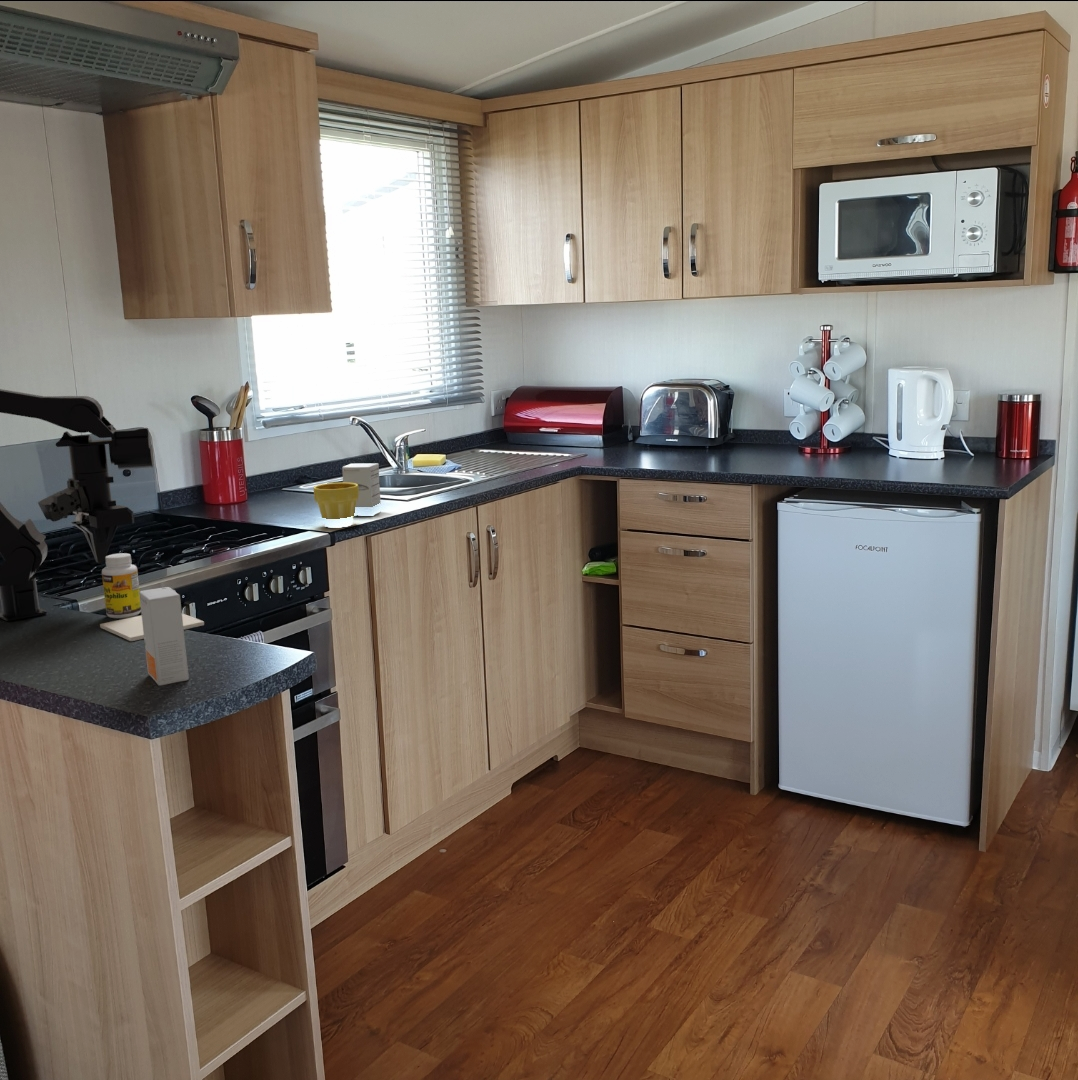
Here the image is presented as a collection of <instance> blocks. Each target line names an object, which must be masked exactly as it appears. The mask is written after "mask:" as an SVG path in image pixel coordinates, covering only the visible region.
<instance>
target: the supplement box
mask: <svg viewBox="0 0 1078 1080" xmlns="http://www.w3.org/2000/svg"><path fill="white" fill-rule="evenodd" d="M379 467H380V464H379V463H375V462H373V463H363V462H362V463H349V464H347V465H343V466H342V470H341V471H342V482H346V483H356V484H358V489H359V498H358V499H357V500H356V506H355V507H373V506H375V505H377V504H379V503H380V504H381V487H380V468H379Z"/></svg>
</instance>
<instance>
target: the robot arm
mask: <svg viewBox="0 0 1078 1080" xmlns="http://www.w3.org/2000/svg"><path fill="white" fill-rule="evenodd" d="M0 413H1V414H7V415H12V416H13V415H14V416H19V417H27V418H32V419H37V420H38V419H39V420H41V421H44V422H47V423H50V424H53V425H55V426H57V427H61V428H62V429H67V430H70V431H72V432H75V433H81V435H78V434H77V435H72V434H71V433H70V432H69V431H64V432H63V434H62V436H61V438H60V439H59V440H58V441H56V443H55V446H56V448H57V447H58V448H62V447H64V448H65V447H68V449H69V450H68V452H69V459H70V460H69V461H70V466H71V467H70V468H71V469H70V470H71V476H72V477H70V478H68V480H67V481H66V485H67V486H66V487H67V488H65V489H62V490H59V491H56V493H55V492H54V493H53V494H51V495H49V496H47V497H45V498H43V499H41V500H39V501H38V502H37V504H38V506H39V508H40V510H41V512H42V514H43V515H44V518H45V519H46V520H47V521H48V520H50V521H51V522H53V523H54V522H58V521H60V520H63V519H68V517H69V516H75V521H71V522H70V524H71V525H72V526H75V527H76V528H77V529H79V530H81V531H82V532H83V534H84V536H85V538H86V540H87V543H88V545H89V547H90V549H91V552H92V554H93V557H94V560H95V562H96V563H103V562H106V559H105V557H106V556H108V555H107V554H108V551H109V549H110V546H111V545H112V542H113V539H114V536H115V534H116V531H117V530H118V528H119V526H125V525H130V524H132V525H133V524H134V523H135V513H134V511H133V510H132V509H131V508H129V507H128V506H123V505H120V504H119V505H117V500H115V499H112V494H111V485H110V484H113V483H115V482H114V481H115V480H114V476H112V475H109V466H108V459H107V457H108V456H107V448H106V445H108V453H109V460H110V464H111V465H114V466H117V468H118V470H131V469H132V470H134V469H149V468H154V450H153V445H151V438H150V430H149V428H148V427H139V428H137V429H120V430H117V428H115V426H114V424H112V423H111V422H110V421H109V420H108V419H107V418H106V417H105V416H104V410H103V407H102V405H101V404H100V403H99V401H98V400H97V399H95V398H94V397H91V396H87V395H84V396H83V395H61V396H59V395H57V396H55V395H53V396H50V395H49V396H48V395H47V396H43V395H37V394H31V393H25V392H19V391H14V390H8V389H2V388H0ZM82 433H90V434H92V435H94V436H95V437H98V438H100V439H92V437H91V436H92V435H90V434H82ZM107 438H109V439H107ZM45 539H46V535H45V534H43V533H41V532H40V531H39V530H38V529H37V527H36V525H35V523H34V522H33V521H32V519H31V518H28V519H27V520H26V521H25V522H24V523H23V522H22V521H20V520H18V519H17V518H15V517H14V516H13V515H12V514H11V513H10V512H9V511H8V510H7V509H6V508H5V506H4V504H2V503H1V502H0V556H1V557H2V559H3V562H2V564H1V565H0V605H1V611H0V619H2V620H4V621H6V622H12V621H17V620H22V619H26V618H27V619H28V618H33V617H37V616H38V617H39V616H42V615H43V616H44V615H47V614H48V611H47V610H46V609H43V608H42V607H40V604H39V603H40V602H39V595H38V586H37V579H36V576H34V575H35V574H36V572H37V569H39V567H40V566H41V565H42V563H43V562H44V561H45V559H46V557H47V556H48V545H47V543H46V541H45Z"/></svg>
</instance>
